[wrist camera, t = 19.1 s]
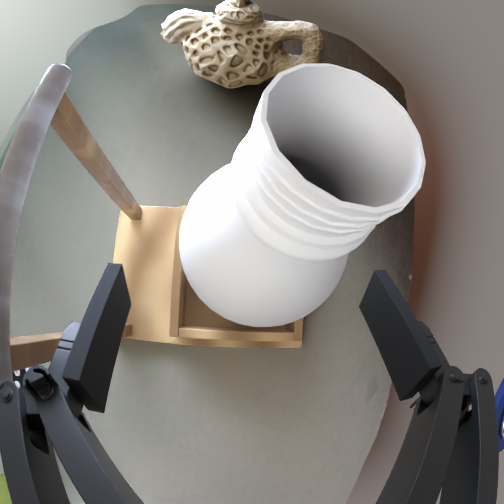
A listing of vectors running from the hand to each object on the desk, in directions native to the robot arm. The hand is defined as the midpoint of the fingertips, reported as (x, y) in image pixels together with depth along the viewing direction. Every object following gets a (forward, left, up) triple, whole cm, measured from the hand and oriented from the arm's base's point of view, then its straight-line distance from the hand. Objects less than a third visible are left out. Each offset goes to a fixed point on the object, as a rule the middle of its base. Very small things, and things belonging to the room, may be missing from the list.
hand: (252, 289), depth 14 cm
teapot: (+2, -30, -15) cm, 34 cm away
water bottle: (0, -2, -14) cm, 14 cm away
